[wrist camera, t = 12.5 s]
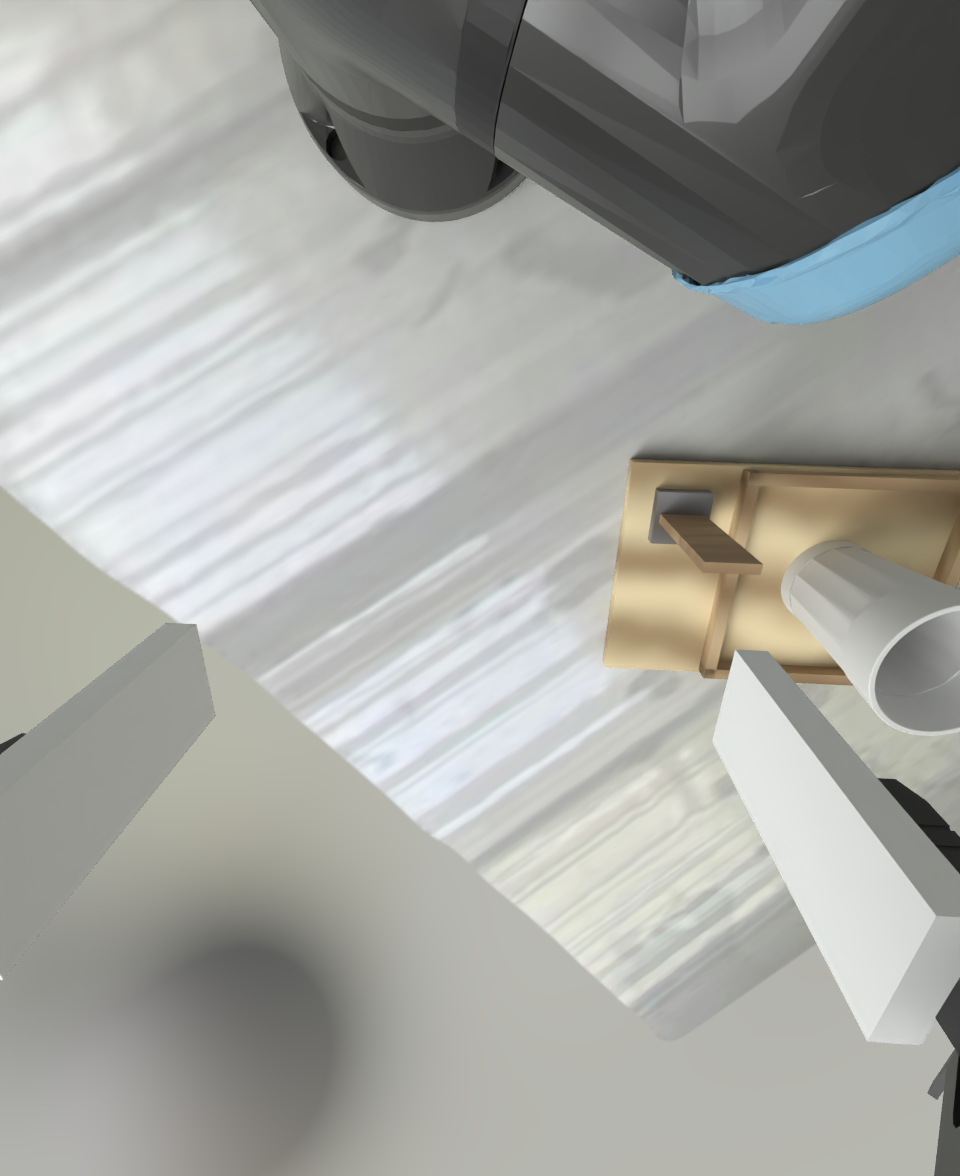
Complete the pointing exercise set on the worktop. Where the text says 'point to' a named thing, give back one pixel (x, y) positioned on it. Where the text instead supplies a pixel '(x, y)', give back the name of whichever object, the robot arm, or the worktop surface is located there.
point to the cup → (883, 632)
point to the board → (758, 555)
